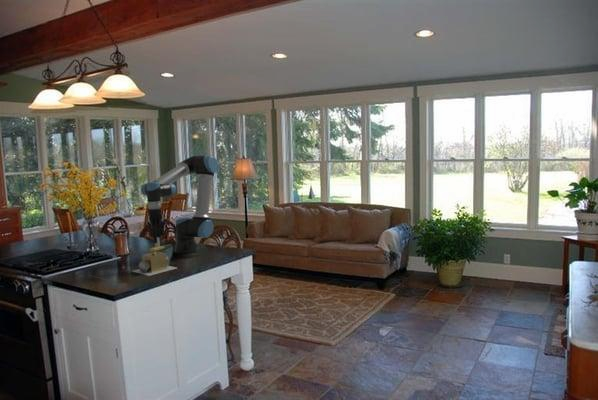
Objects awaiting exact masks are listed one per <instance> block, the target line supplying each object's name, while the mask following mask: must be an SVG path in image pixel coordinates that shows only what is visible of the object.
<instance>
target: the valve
mask: <svg viewBox="0 0 598 400" xmlns="http://www.w3.org/2000/svg"><path fill="white" fill-rule="evenodd" d="M170 264H171V259H169V257H167V256H166V253H162V252H156V251H154V252H149V253H145V254H141V260H140V261H139V263H138V264H137V265H138V266H137V267H138V269H139V270H140V271H142V272H143V273H145V272H151V273H152V272H156V271H160V270H164V269H167V266H170Z"/></svg>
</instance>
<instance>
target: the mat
mask: <svg viewBox="0 0 598 400" xmlns="http://www.w3.org/2000/svg"><path fill="white" fill-rule="evenodd" d="M177 269H178V267H176V266H171V265H169V266H167V269H164V270H160V271H156V272H152V273H151V272H145V273H143V272H142V271H140V270H139V268H138V269H134V270H131V272H133V273H137V274H141V275H145V276H149V277H150V276H153V275H157V274H160V273H162V274H163V273H166V272H168V271H172V270H177Z"/></svg>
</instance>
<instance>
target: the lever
mask: <svg viewBox="0 0 598 400" xmlns="http://www.w3.org/2000/svg"><path fill="white" fill-rule="evenodd" d="M170 247H174V246H173V244H171V243H169V244H164V245H160V247H150V248H149V249H148V251H149V253H151V252H154V251H157V250H160V249H164V248H165V249H166V248H170Z"/></svg>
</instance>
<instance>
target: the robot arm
mask: <svg viewBox="0 0 598 400" xmlns="http://www.w3.org/2000/svg"><path fill="white" fill-rule="evenodd" d="M218 171H219V162H218V159H217V158H216V157H215V156H213V155H210V154H209V155H208V154H205V155H204V154H203V155H193V156H189V157H188V158H186V159H184V160H182V161H181V162H178V163H177V166H175V167H174V168H172V169H171V170H169V171H167V172H165V173H164V174H163V175H161V176H159V177H158V178H156V179H154V180H152V181H147V182H146V183H144V184H142V185H141V187H140V192H141V194H142V195H143V196H145V197H146V198H147V199H146V200H147V209H148V210H147V211H148V220H147V221H145V222H144V223H145V225H146V226H147V230H148V233H149V237H150V238H153V243H154V246H155V247H161V241H162V236H164V231H165V225H166V221H167V219H166V218H164V217H163V216H162V215H163V211H162V208H161V207H162V198H163V197H172V196H174V195H175V194H176V193H177V187H176V185H175V184H174V183H175V182H176V181H178V180H180V179H182V178H183V177H185V176H189V175H191V174H195V176H196V177H197V189H196V201H195V202H196V203H195V214H193V216H187V217H186V216H185V217H180V218H176V220H175V235H176V243H175V246H174V247H175V248H174V253H175V254H179V255H185V254H192V253H193V254H194V253H196V252H198V251H199V247H198V245H197V242H196V240H195V238H200V239H203V238H204V239H205V238H209V237H211V235H212V234H213V231H214V227H215V226H214V224H213V221H212V220H211V216H210V215H209V214H210V212H209V211H210V202H211V201H210V200H211V199H210V198H211V189H212V187H211V186H212V179H213V178H214V177H215V174H216V173H217V172H218ZM155 247H154V248H155Z"/></svg>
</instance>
